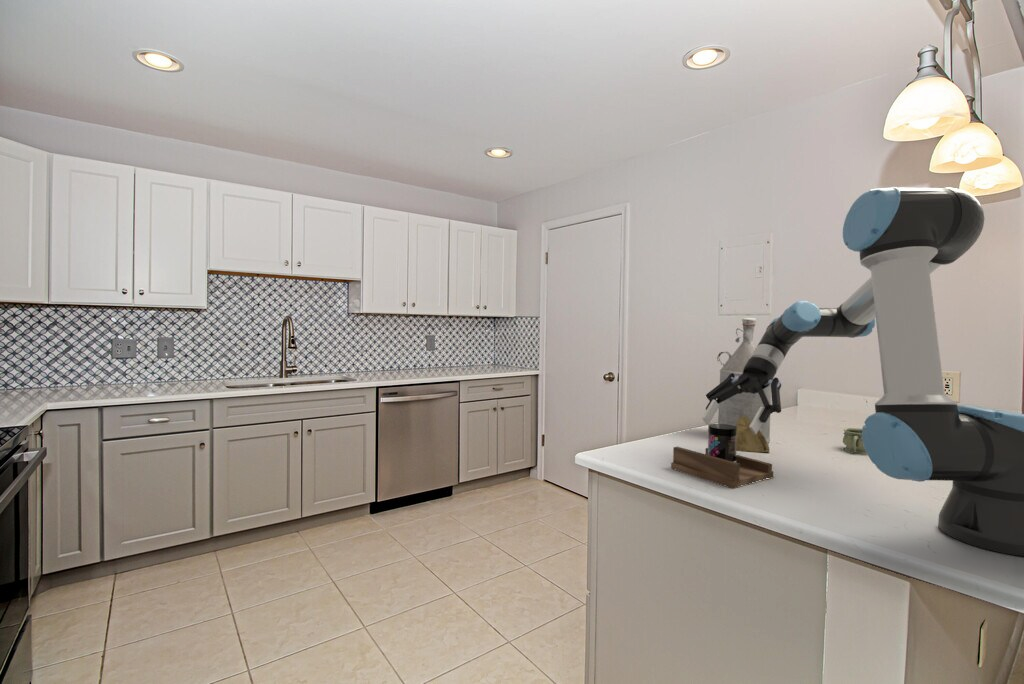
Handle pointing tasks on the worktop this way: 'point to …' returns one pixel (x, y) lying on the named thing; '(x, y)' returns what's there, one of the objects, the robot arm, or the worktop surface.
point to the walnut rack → (721, 467)
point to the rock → (749, 437)
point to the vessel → (854, 441)
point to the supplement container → (722, 441)
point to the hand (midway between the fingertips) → (727, 425)
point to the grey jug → (740, 402)
